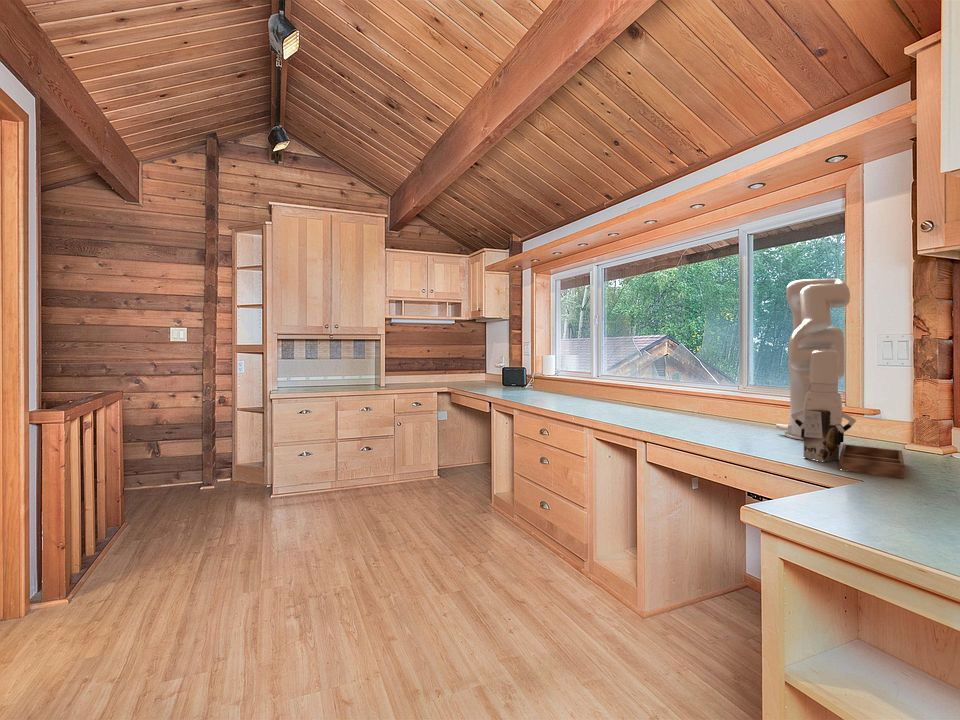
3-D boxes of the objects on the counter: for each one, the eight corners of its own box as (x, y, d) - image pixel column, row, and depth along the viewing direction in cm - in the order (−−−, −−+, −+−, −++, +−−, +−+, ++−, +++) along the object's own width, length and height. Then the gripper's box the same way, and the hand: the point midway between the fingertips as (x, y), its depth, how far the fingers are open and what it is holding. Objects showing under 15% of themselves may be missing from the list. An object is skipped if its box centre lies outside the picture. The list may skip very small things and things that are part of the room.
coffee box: (824, 463, 154) (825, 411, 153) (802, 458, 159) (804, 409, 158) (840, 459, 158) (841, 409, 157) (818, 454, 164) (820, 406, 162)
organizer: (838, 470, 146) (839, 456, 146) (842, 456, 162) (843, 444, 161) (903, 479, 137) (904, 464, 137) (901, 463, 152) (901, 450, 152)
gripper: (789, 388, 160) (788, 440, 161) (857, 391, 149) (855, 448, 150) (793, 385, 165) (791, 436, 167) (858, 389, 155) (856, 443, 156)
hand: (821, 442), depth 158 cm, fingers open, 8 cm apart
